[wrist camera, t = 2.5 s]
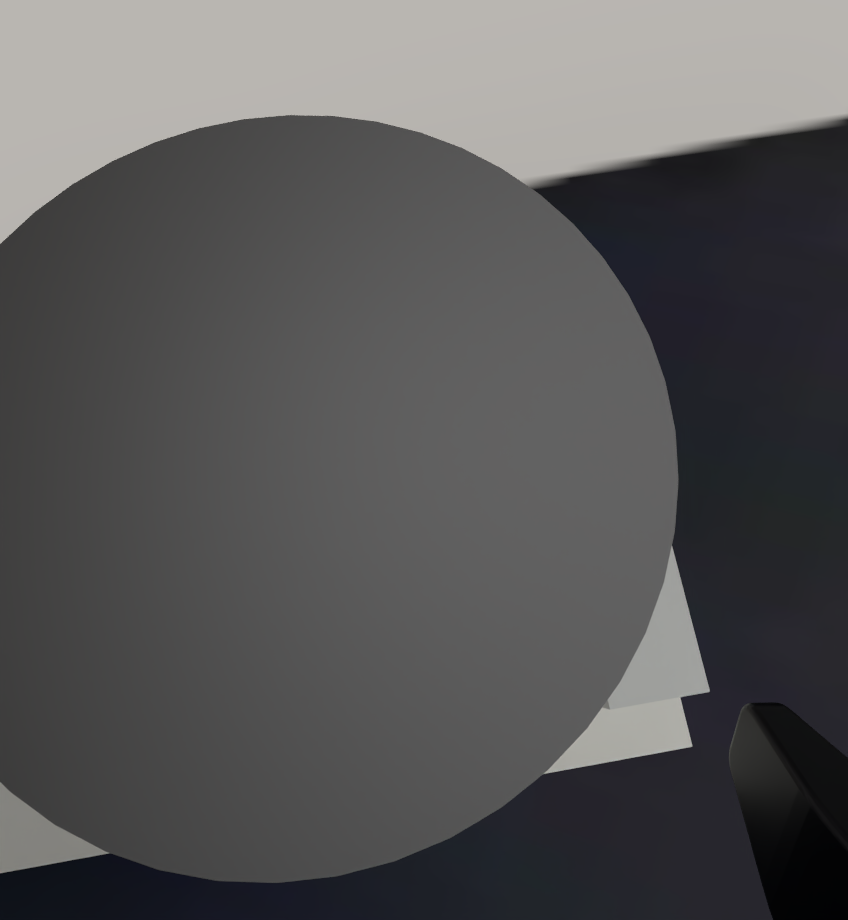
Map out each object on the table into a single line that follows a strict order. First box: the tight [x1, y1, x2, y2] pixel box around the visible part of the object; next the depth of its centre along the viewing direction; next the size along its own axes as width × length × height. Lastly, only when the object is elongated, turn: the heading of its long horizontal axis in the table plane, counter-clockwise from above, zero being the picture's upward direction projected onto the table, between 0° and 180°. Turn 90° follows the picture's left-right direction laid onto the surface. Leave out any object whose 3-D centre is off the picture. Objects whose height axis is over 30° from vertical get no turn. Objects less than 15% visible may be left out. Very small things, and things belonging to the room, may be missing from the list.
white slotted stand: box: [0, 546, 710, 873], centre depth 16 cm, size 9×23×5 cm, turn 100°
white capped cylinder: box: [0, 115, 678, 883], centre depth 11 cm, size 5×5×14 cm
